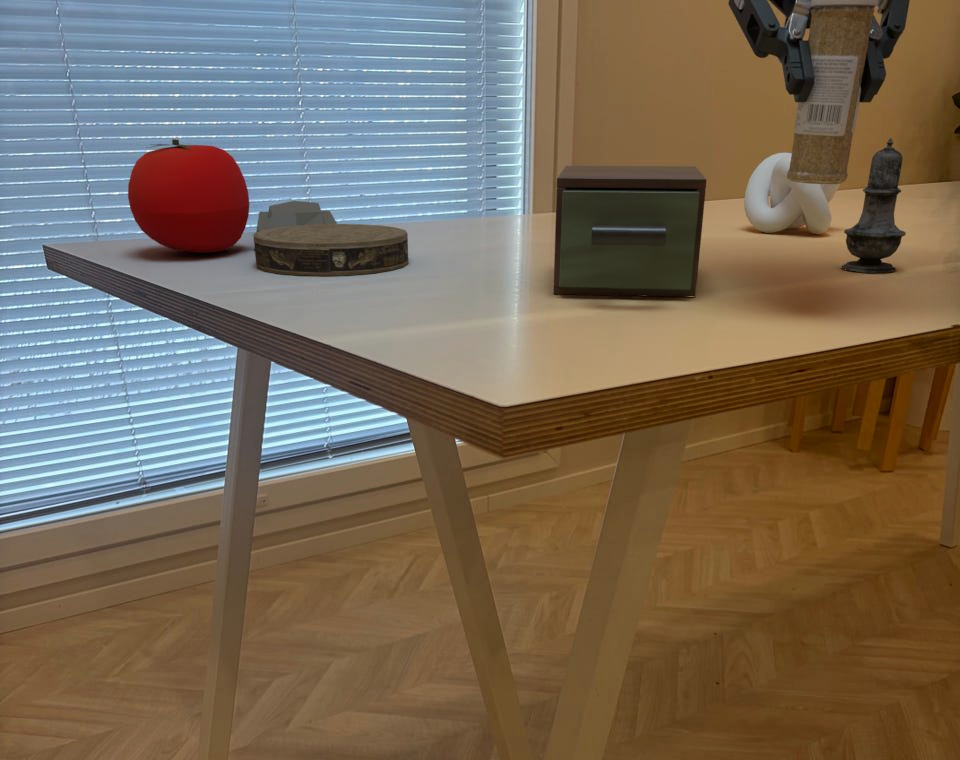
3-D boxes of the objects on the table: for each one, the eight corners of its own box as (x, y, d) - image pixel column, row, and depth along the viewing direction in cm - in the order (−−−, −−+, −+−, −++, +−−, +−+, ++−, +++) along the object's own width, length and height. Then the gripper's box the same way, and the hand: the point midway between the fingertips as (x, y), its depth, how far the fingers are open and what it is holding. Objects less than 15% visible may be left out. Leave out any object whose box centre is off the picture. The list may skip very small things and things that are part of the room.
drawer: (693, 300, 85) (703, 198, 81) (556, 297, 86) (559, 196, 82) (682, 265, 101) (690, 179, 97) (566, 263, 102) (569, 178, 98)
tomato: (280, 252, 115) (270, 138, 110) (173, 266, 107) (156, 143, 101) (218, 241, 123) (205, 135, 117) (112, 254, 114) (94, 139, 109)
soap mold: (254, 250, 116) (250, 217, 114) (256, 228, 133) (253, 199, 132) (345, 248, 118) (343, 215, 116) (336, 227, 135) (334, 198, 133)
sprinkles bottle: (855, 182, 79) (892, -24, 73) (831, 186, 76) (867, -29, 70) (800, 178, 82) (831, -22, 75) (774, 181, 79) (804, -27, 72)
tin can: (247, 256, 112) (244, 227, 111) (388, 249, 117) (387, 221, 115) (267, 279, 99) (263, 246, 98) (425, 271, 103) (425, 239, 102)
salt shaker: (872, 275, 101) (896, 140, 95) (825, 267, 105) (845, 137, 100) (911, 270, 104) (936, 138, 98) (864, 262, 108) (885, 136, 102)
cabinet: (695, 297, 91) (706, 179, 86) (553, 294, 92) (556, 177, 88) (686, 271, 104) (696, 166, 99) (561, 268, 105) (565, 165, 100)
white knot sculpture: (730, 234, 128) (738, 155, 124) (751, 224, 138) (760, 150, 133) (823, 239, 124) (835, 157, 120) (838, 228, 133) (850, 152, 129)
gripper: (729, -136, 75) (758, 51, 71) (918, -133, 76) (958, 51, 72) (703, -43, 83) (727, 132, 78) (875, -41, 84) (909, 132, 79)
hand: (838, 92), depth 75 cm, fingers closed on sprinkles bottle, 4 cm apart
